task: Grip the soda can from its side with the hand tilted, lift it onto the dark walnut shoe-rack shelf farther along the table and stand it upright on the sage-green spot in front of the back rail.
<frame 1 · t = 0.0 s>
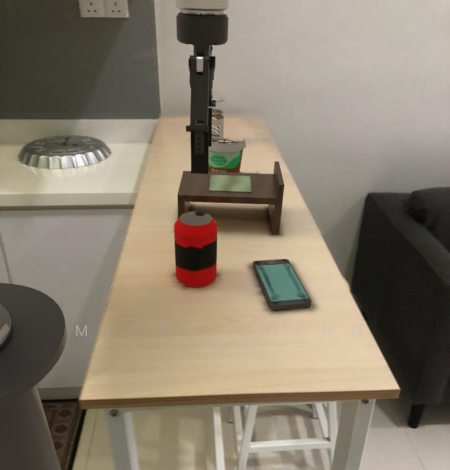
hand: (202, 158, 79), 21 cm above the table, tool pointing down, fingers open, 13 cm apart
smartphone: (279, 286, 86), on the table
food container: (222, 177, 128), on the table
french press: (208, 142, 154), on the table
shelf: (228, 219, 107), on the table
soda can: (196, 277, 87), on the table
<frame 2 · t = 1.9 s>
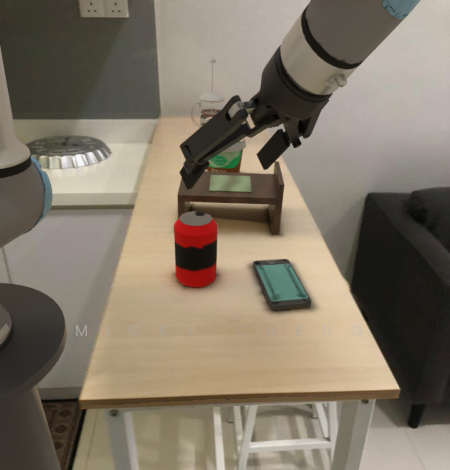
hand: (225, 170, 67), 23 cm above the table, tool tilted 45°, fingers open, 13 cm apart
nothing on the table moved.
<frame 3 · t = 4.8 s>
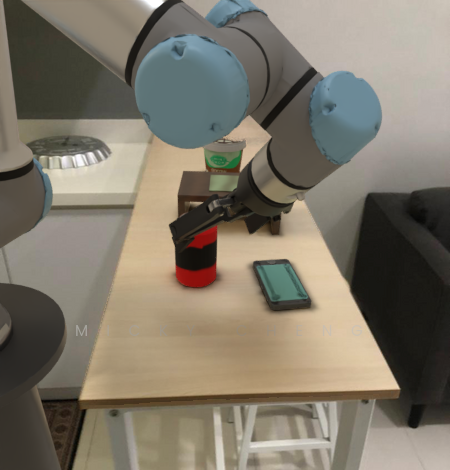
hand: (213, 235, 76), 12 cm above the table, tool tilted 45°, fingers open, 13 cm apart
nothing on the table moved.
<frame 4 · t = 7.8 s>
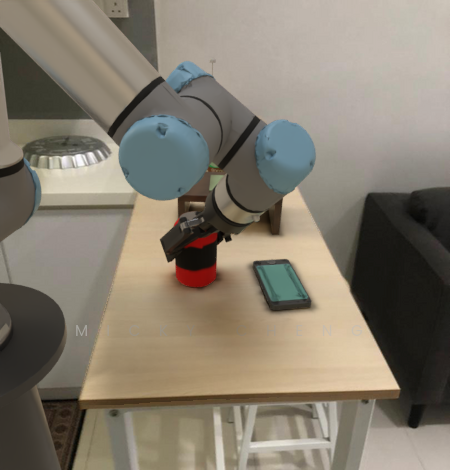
hand: (187, 249, 87), 4 cm above the table, tool tilted 45°, fingers closed on soda can, 7 cm apart
soda can: (196, 277, 87), on the table, touching gripper
everything else where it was.
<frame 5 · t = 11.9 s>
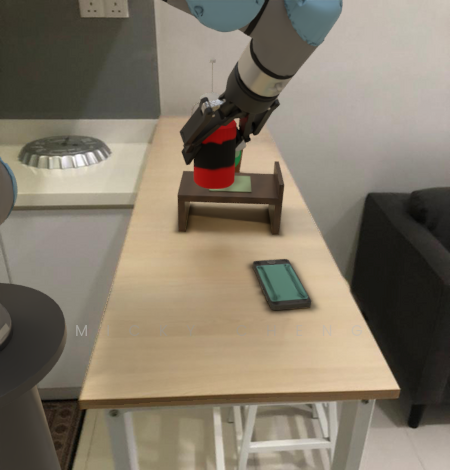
hand: (205, 154, 87), 19 cm above the table, tool tilted 45°, fingers closed on soda can, 7 cm apart
soda can: (214, 182, 87), point 14 cm above the table, touching gripper
everything else where it was.
when the fingers open (13 cm above the table, at t = 16.1 s): soda can stays where it is, resting on shelf.
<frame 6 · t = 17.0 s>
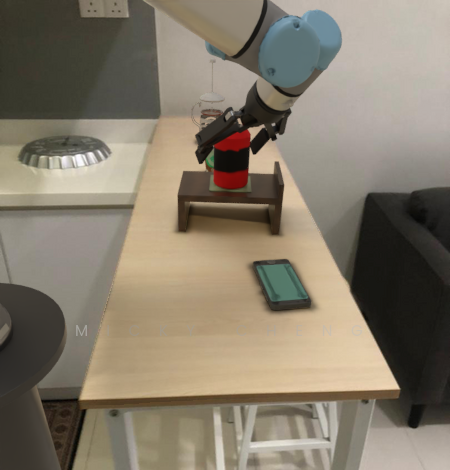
hand: (226, 153, 100), 15 cm above the table, tool tilted 45°, fingers open, 13 cm apart
soda can: (230, 183, 102), point 9 cm above the table, touching shelf
everything else where it was.
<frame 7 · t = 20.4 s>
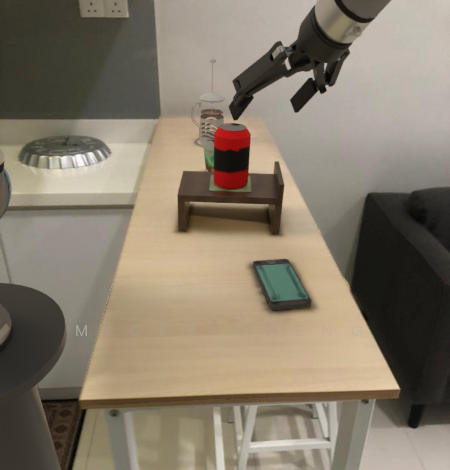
hand: (264, 109, 85), 26 cm above the table, tool tilted 45°, fingers open, 13 cm apart
nothing on the table moved.
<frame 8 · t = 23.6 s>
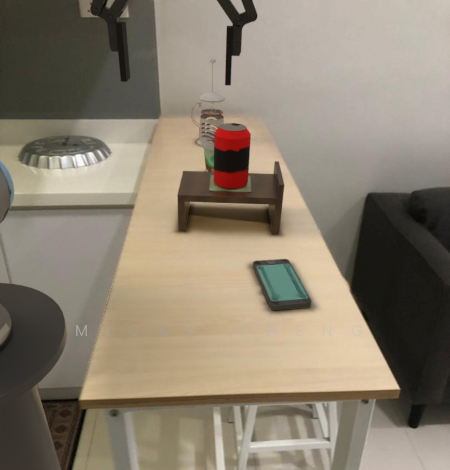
hand: (176, 81, 62), 35 cm above the table, tool pointing down, fingers open, 13 cm apart
nothing on the table moved.
at the end: soda can inside the target area on the shelf (0.1 cm from its centre), point 8.5 cm above the shelf's base; soda can tilted 0°; the gripper is holding nothing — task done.
